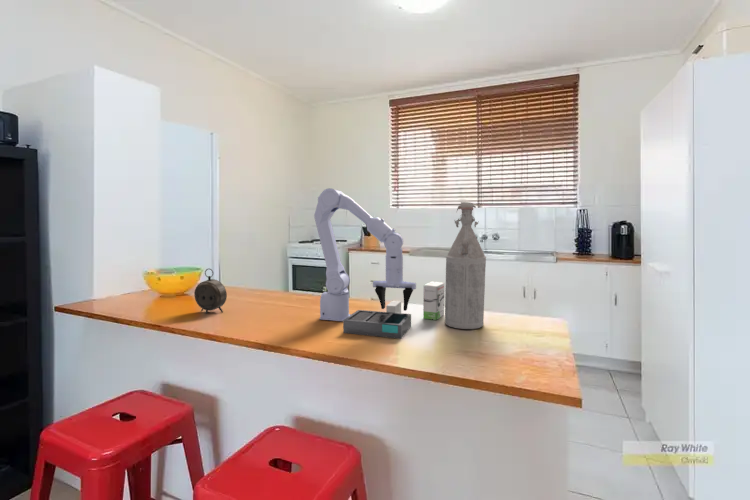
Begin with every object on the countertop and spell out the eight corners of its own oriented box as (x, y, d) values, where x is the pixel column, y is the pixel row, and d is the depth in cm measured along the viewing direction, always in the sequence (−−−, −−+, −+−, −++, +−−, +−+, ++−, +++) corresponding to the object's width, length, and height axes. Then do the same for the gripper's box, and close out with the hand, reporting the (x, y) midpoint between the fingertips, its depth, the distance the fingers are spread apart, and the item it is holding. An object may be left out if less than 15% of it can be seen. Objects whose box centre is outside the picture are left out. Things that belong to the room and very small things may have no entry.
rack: (342, 333, 118) (342, 320, 118) (358, 321, 131) (358, 309, 130) (400, 339, 112) (401, 325, 112) (411, 326, 125) (411, 314, 125)
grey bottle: (442, 330, 121) (444, 201, 117) (446, 315, 138) (448, 202, 134) (484, 333, 118) (488, 200, 114) (484, 318, 134) (487, 202, 131)
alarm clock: (228, 311, 144) (226, 268, 142) (219, 315, 139) (217, 270, 137) (202, 310, 147) (200, 267, 145) (192, 313, 141) (190, 269, 140)
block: (386, 323, 129) (386, 305, 128) (392, 317, 136) (392, 300, 136) (395, 324, 128) (395, 306, 127) (401, 318, 135) (401, 301, 135)
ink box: (436, 320, 132) (436, 286, 131) (422, 318, 134) (422, 284, 133) (444, 314, 139) (445, 282, 138) (431, 313, 142) (431, 280, 141)
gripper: (369, 270, 129) (370, 310, 130) (412, 271, 124) (412, 313, 126) (376, 267, 135) (376, 305, 137) (417, 268, 131) (417, 308, 132)
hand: (394, 309), depth 132 cm, fingers open, 7 cm apart
